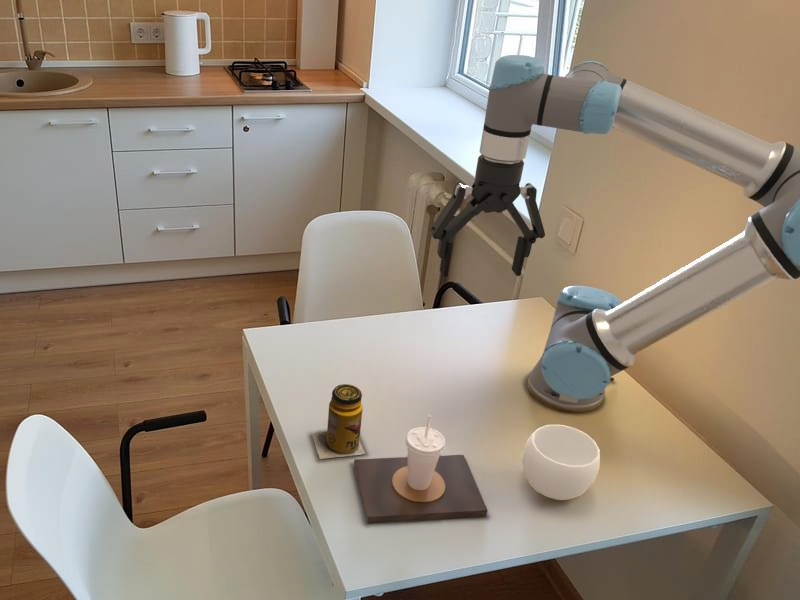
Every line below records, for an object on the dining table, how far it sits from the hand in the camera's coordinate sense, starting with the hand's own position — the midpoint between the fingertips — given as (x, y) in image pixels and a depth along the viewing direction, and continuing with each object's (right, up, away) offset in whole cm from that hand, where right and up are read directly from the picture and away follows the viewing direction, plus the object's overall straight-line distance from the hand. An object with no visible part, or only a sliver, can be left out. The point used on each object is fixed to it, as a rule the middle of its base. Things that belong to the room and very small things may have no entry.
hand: (479, 273), depth 131 cm
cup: (+12, -38, -4) cm, 40 cm away
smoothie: (-12, -37, -8) cm, 40 cm away
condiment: (-26, -31, +3) cm, 41 cm away
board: (-12, -38, -7) cm, 41 cm away
